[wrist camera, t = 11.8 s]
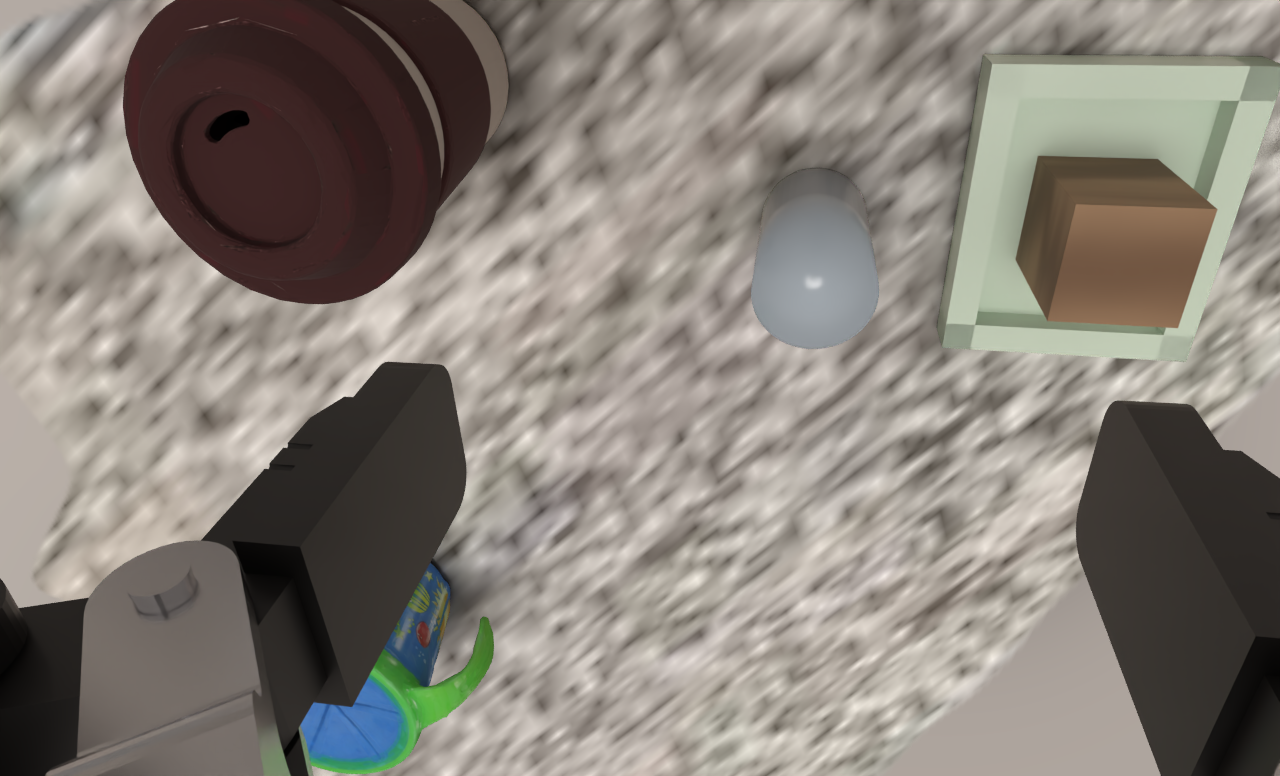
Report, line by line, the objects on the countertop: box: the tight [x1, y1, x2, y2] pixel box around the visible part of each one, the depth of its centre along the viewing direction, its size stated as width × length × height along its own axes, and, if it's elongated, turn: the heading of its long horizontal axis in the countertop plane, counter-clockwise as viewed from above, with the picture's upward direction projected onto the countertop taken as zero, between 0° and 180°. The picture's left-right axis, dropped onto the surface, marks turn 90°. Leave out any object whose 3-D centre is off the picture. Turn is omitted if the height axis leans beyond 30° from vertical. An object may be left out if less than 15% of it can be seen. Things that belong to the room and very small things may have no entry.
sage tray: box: [937, 54, 1280, 362], centre depth 35 cm, size 12×10×2 cm
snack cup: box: [300, 563, 494, 774], centre depth 51 cm, size 16×10×10 cm
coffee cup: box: [123, 0, 509, 304], centre depth 32 cm, size 10×10×15 cm
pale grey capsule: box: [751, 168, 879, 349], centre depth 35 cm, size 5×5×8 cm
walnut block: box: [1015, 156, 1218, 328], centre depth 33 cm, size 4×4×6 cm
